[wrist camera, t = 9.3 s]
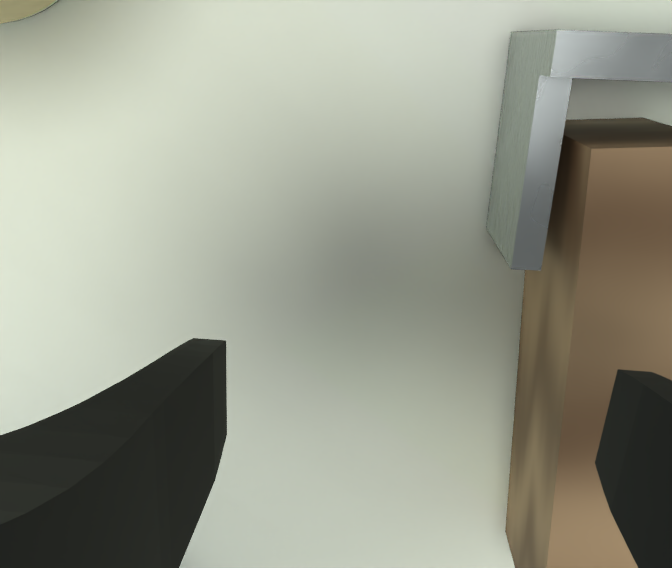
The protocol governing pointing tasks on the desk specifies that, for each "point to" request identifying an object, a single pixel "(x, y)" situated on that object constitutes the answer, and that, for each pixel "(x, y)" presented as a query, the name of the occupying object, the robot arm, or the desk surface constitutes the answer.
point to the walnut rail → (589, 336)
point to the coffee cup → (21, 9)
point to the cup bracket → (552, 122)
